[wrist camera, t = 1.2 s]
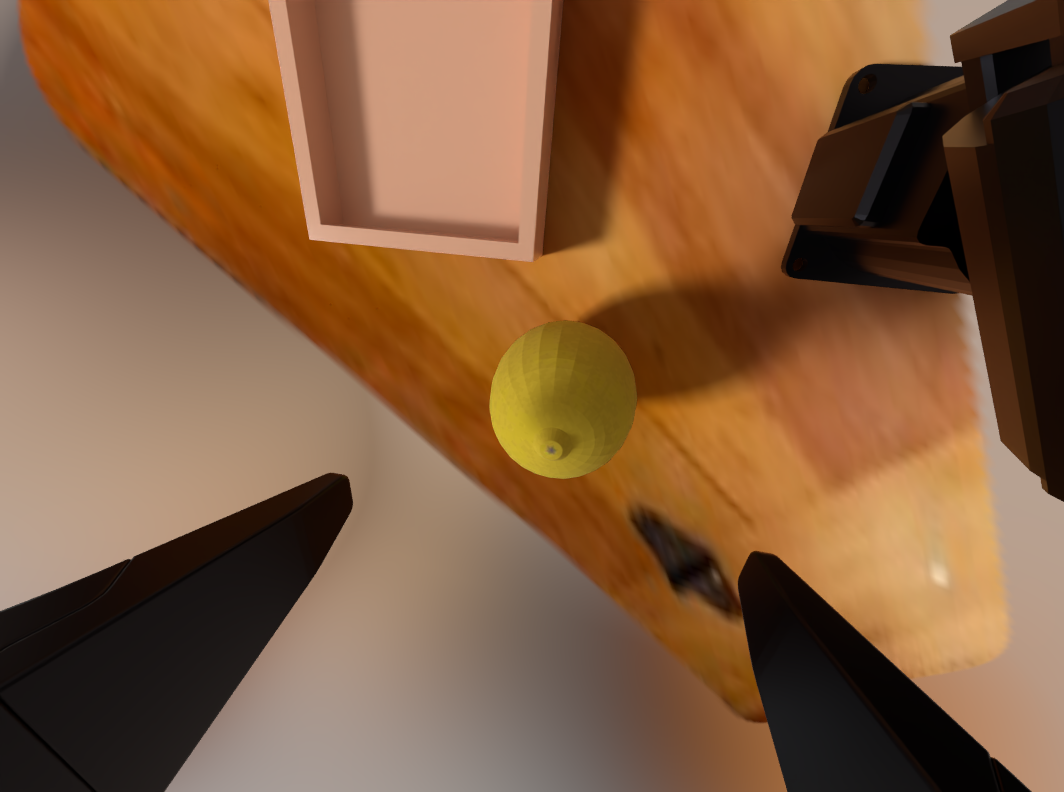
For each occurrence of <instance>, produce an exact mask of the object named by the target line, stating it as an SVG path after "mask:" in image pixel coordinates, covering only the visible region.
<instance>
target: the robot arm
mask: <svg viewBox="0 0 1064 792" xmlns="http://www.w3.org/2000/svg"><path fill="white" fill-rule="evenodd" d="M950 39H951V45H952V51H953V56H954V62H955V63H958V62H961V63H962V67H950V66H923V65H894V64H871V65H867V66H865V67H864V68H862V69H860V70H859V71H857V72H855V73H853V74H852V75H851V76H850V77H849V79H848V80H847V81H846V83H845V85H844V87H843V90H842V93H841V96H840V98H839V101H838V104H837V107H836V110H835V113H834V115H833V118H832V121H831V124H830V127H829V130H828V133H826V134H825V135H824V136H822V137H821V138H820V139H819V140H818V141H817V144H816V147H815V150H814V152H813V155H812V158H811V161H810V164H809V167H808V170H807V173H806V176H805V179H804V181H803V184H802V187H801V190H800V193H799V196H798V199H797V202H796V205H795V208H794V211H793V213H792V219H793V221H794V223H795V226H794V229H793V232H792V235H791V238H790V241H789V243H788V246H787V249H786V252H785V255H784V258H783V261H782V265H781V269H782V272H783V273H784V274H785V275H786V276H789V277H793V278H797V279H807V280H818V281H828V282H838V283H848V284H858V285H869V286H879V287H889V288H899V289H910V290H920V291H930V292H940V293H950V294H955V293H963V294H967V295H972V296H973V300H974V305H975V311H976V316H977V320H978V326H979V331H980V336H981V341H982V346H983V352H984V357H985V362H986V367H987V372H988V377H989V382H990V388H991V393H992V398H993V403H994V408H995V413H996V418H997V423H998V429H999V434H1000V439H1001V442H1002V443H1003V444H1004V445H1005V446H1006V447H1007V448H1008V449H1009V450H1010V451H1011V452H1012V453H1013V454H1014V455H1015V456H1016V457H1017V458H1018V459H1019V460H1020V461H1021V462H1022V463H1023V464H1024V465H1025V466H1026V467H1027V468H1028V469H1029V470H1030V471H1031V472H1033V473H1035V474H1036V475H1038V476H1039V477H1040V478H1041V484H1042V488H1043V489H1044V490H1045V491H1046V492H1047V493H1048V494H1050V495H1052V496H1054V497H1055V498H1057V499H1059V500H1061V501H1063V502H1064V0H1007V1H1006V2H1004V3H1003V4H1001V5H999V6H998V7H996V8H994V9H993V10H991V11H989V12H988V13H986V14H984V15H983V16H981V17H980V18H978V19H976V20H974V21H973V22H971V23H970V24H968V25H966V26H965V27H963V28H961V29H960V30H958V31H957V32H955V33H953V34H952V35H950ZM862 78H865V79H868V82H869V88H868V90H867V91H866V93H865V94H862V93H860V92H859V90H858V85H859V82H860V81H861V79H862ZM799 258H801V259H802V260H803V263H802V266H801V267H800V268H799V269H797V270H794V269H793V263H794V262H795V260H797V259H799ZM352 506H353V499H352V493H351V488H350V482H349V479H348V477H347V476H345V475H342V474H336V473H328V474H325V475H322V476H320V477H318V478H315V479H313V480H311V481H309V482H306V483H304V484H302V485H299V486H297V487H295V488H292V489H290V490H288V491H285V492H283V493H281V494H278V495H276V496H274V497H272V498H269V499H267V500H265V501H262V502H260V503H257V504H255V505H253V506H250V507H248V508H246V509H243V510H241V511H239V512H236V513H234V514H232V515H230V516H227V517H225V518H222V519H220V520H218V521H216V522H213V523H211V524H209V525H206V526H204V527H202V528H199V529H197V530H195V531H192V532H190V533H188V534H185V535H183V536H181V537H178V538H176V539H174V540H171V541H169V542H167V543H165V544H162V545H160V546H157V547H155V548H153V549H150V550H148V551H146V552H143V553H141V554H139V555H136V556H134V557H133V558H132V559H131V560H130V559H127V560H125V561H123V562H120V563H118V564H115V565H113V566H111V567H109V568H106V569H104V570H102V571H99V572H97V573H95V574H92V575H90V576H87V577H85V578H82V579H80V580H78V581H75V582H73V583H70V584H68V585H66V586H63V587H61V588H59V589H56V590H53V591H51V592H48V593H46V594H43V595H41V596H38V597H36V598H33V599H30V600H28V601H25V602H23V603H20V604H18V605H15V606H12V607H10V608H7V609H5V610H2V611H0V792H165V790H166V789H167V787H168V786H169V784H170V783H171V781H172V780H173V779H174V777H175V776H176V774H177V773H178V771H179V770H180V768H181V767H182V766H183V764H184V763H185V761H186V760H187V758H188V757H189V756H190V754H191V753H192V751H193V750H194V748H195V747H196V745H197V744H198V742H199V741H200V740H201V738H202V737H203V735H204V734H205V733H206V731H207V730H208V728H209V727H210V725H211V724H212V722H213V721H214V719H215V718H216V717H217V715H218V714H219V712H220V711H221V709H222V708H223V707H224V705H225V704H226V702H227V701H228V699H229V698H230V697H231V695H232V694H233V692H234V691H235V689H236V688H237V686H238V685H239V684H240V682H241V681H242V679H243V678H244V676H245V675H246V674H247V672H248V671H249V669H250V668H251V666H252V665H253V663H254V662H255V661H256V659H257V658H258V656H259V655H260V653H261V652H262V650H263V649H264V648H265V646H266V645H267V643H268V642H269V640H270V639H271V637H272V636H273V635H274V633H275V632H276V630H277V629H278V627H279V626H280V625H281V623H282V622H283V620H284V619H285V617H286V616H287V614H288V613H289V612H290V610H291V609H292V607H293V606H294V604H295V603H296V602H297V600H298V598H299V597H300V596H301V594H302V593H303V591H304V590H305V589H306V587H307V586H308V584H309V583H310V581H311V580H312V578H313V577H314V575H315V574H316V572H317V571H318V569H319V567H320V566H321V564H322V562H323V560H324V559H325V557H326V555H327V553H328V552H329V550H330V548H331V546H332V545H333V543H334V541H335V539H336V537H337V536H338V534H339V532H340V530H341V529H342V527H343V525H344V523H345V522H346V520H347V518H348V516H349V514H350V512H351V510H352ZM738 591H739V596H740V602H741V608H742V613H743V619H744V624H745V630H746V636H747V641H748V647H749V652H750V657H751V662H752V667H753V671H754V675H755V679H756V683H757V686H758V690H759V693H760V697H761V700H762V704H763V707H764V711H765V714H766V718H767V721H768V725H769V728H770V732H771V735H772V739H773V742H774V746H775V749H776V753H777V757H778V760H779V764H780V767H781V771H782V774H783V778H784V781H785V785H786V788H787V792H1031V791H1030V790H1029V789H1028V788H1027V787H1026V786H1025V785H1024V784H1023V783H1022V782H1021V781H1020V780H1018V779H1017V778H1016V777H1015V776H1014V775H1013V774H1012V773H1011V772H1010V771H1009V770H1008V769H1006V767H1004V766H1003V765H1002V764H1001V763H1000V762H999V761H998V760H997V759H995V758H993V757H990V754H989V752H988V751H987V750H986V749H985V748H983V746H982V745H980V744H979V743H978V742H977V741H976V740H975V739H974V738H973V737H972V736H971V735H970V734H968V732H966V731H965V730H964V729H963V728H962V727H961V726H960V725H959V724H958V723H957V722H956V721H955V720H953V719H952V718H951V717H950V716H949V715H948V714H947V713H946V712H945V711H944V710H943V709H942V708H941V707H939V706H938V705H937V704H936V703H935V702H934V701H933V700H932V699H931V698H930V697H929V696H928V695H927V694H925V693H924V692H923V691H922V690H921V689H920V688H919V687H918V686H917V685H916V684H915V683H914V682H912V681H911V680H910V679H909V678H908V677H907V676H906V675H905V674H904V673H903V672H902V671H901V670H900V669H898V668H897V667H896V666H895V665H894V664H893V663H892V662H891V661H890V660H889V659H888V658H887V657H886V656H884V655H883V654H882V653H881V652H880V651H879V650H878V649H877V648H876V647H875V646H874V645H873V644H871V643H870V642H869V641H868V640H867V639H866V638H865V637H864V636H863V635H862V634H861V633H860V632H859V631H857V630H856V629H855V628H854V627H853V626H852V625H851V624H850V623H849V622H848V621H847V620H846V619H844V618H843V617H842V616H841V615H840V614H839V613H838V612H837V611H836V610H835V609H834V608H833V607H832V606H830V605H829V604H828V603H827V602H826V601H825V600H824V599H823V598H822V597H821V596H820V595H819V594H817V593H816V592H815V591H814V590H813V589H812V588H811V587H810V586H809V585H808V584H807V583H806V582H805V581H803V580H802V579H801V578H800V577H799V576H798V575H797V574H796V573H795V572H794V571H793V570H792V569H790V568H789V567H788V566H787V565H786V564H785V563H784V562H783V561H782V560H781V559H780V558H778V557H777V556H776V555H774V554H771V553H765V552H760V551H753V552H751V553H750V555H749V557H748V559H747V561H746V563H745V565H744V567H743V569H742V571H741V573H740V576H739V579H738Z"/></svg>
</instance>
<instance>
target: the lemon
mask: <svg viewBox="0 0 1064 792" xmlns="http://www.w3.org/2000/svg"><path fill="white" fill-rule="evenodd" d="M636 403H637V391H636V384H635V376H634V373H633V370H632V368H631V366H630V363H629V361H628V359H627V356H626V355H625V353H624V352H623V351H622V349H621V348H620V347H619V346H618V344H617V343H616V342H615V341H614V340H613V339H612V338H611V337H609V336H608V335H607V334H605V333H604V332H603V331H601V330H600V329H598V328H595V327H593V326H590V325H588V324H585V323H583V322H575V321H567V320H564V321H556V322H549V323H546V324H543V325H541V326H538V327H536V328H533V329H531V330H530V331H528V332H527V333H525V334H524V335H523V336H521V337H520V338H519V339H517V340H516V341H515V342H514V343H513V344H512V346H511V347H510V348H509V349H508V351H507V352H506V353H505V355H504V356H503V357H502V359H501V361H500V363H499V365H498V368H497V370H496V373H495V375H494V378H493V381H492V387H491V395H490V414H491V420H492V426H493V429H494V431H495V434H496V436H497V438H498V440H499V442H500V444H501V445H502V447H503V448H504V449H505V451H506V452H507V453H508V454H509V456H510V457H511V458H512V459H513V460H514V461H516V462H517V463H518V464H519V465H521V466H522V467H524V468H526V469H528V470H529V471H531V472H533V473H535V474H539V475H542V476H546V477H549V478H563V479H565V478H572V477H579V476H582V475H585V474H587V473H590V472H593V471H595V470H596V469H598V468H599V467H601V466H602V465H604V464H605V463H607V462H608V461H609V460H610V459H611V458H612V457H613V456H614V455H615V454H616V452H617V451H618V450H619V449H620V448H621V447H622V445H623V443H624V441H625V439H626V437H627V435H628V433H629V431H630V429H631V427H632V424H633V420H634V415H635V409H636Z"/></svg>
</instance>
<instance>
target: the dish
mask: <svg viewBox="0 0 1064 792" xmlns="http://www.w3.org/2000/svg"><path fill="white" fill-rule="evenodd" d="M268 1H269V6H270V12H271V18H272V24H273V30H274V35H275V41H276V47H277V53H278V59H279V65H280V70H281V76H282V82H283V88H284V94H285V99H286V105H287V111H288V117H289V123H290V128H291V134H292V140H293V146H294V152H295V157H296V163H297V169H298V175H299V181H300V187H301V192H302V198H303V204H304V210H305V216H306V221H307V227H308V233H309V239H310V240H319V241H329V242H339V243H349V244H359V245H369V246H379V247H389V248H399V249H409V250H419V251H429V252H439V253H448V254H458V255H468V256H478V257H488V258H498V259H508V260H518V261H528V262H534V261H535V260H537V259H538V258H540V257H541V256H542V253H543V241H544V229H545V217H546V205H547V193H548V181H549V169H550V157H551V145H552V133H553V121H554V109H555V96H556V84H557V72H558V60H559V48H560V36H561V24H562V12H563V0H268Z"/></svg>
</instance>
